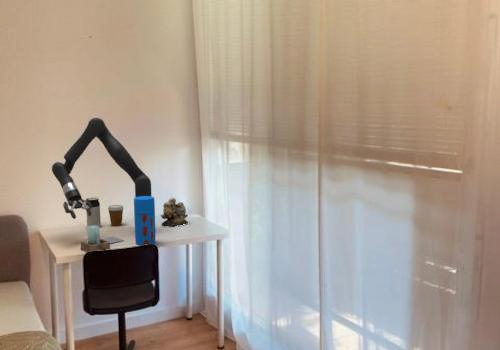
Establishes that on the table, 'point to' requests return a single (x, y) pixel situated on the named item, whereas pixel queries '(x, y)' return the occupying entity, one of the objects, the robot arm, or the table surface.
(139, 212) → the thermos
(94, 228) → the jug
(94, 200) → the travel mug
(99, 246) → the cradle
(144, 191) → the robot arm
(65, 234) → the table surface
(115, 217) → the disposable coffee cup
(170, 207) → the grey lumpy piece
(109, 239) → the mat
